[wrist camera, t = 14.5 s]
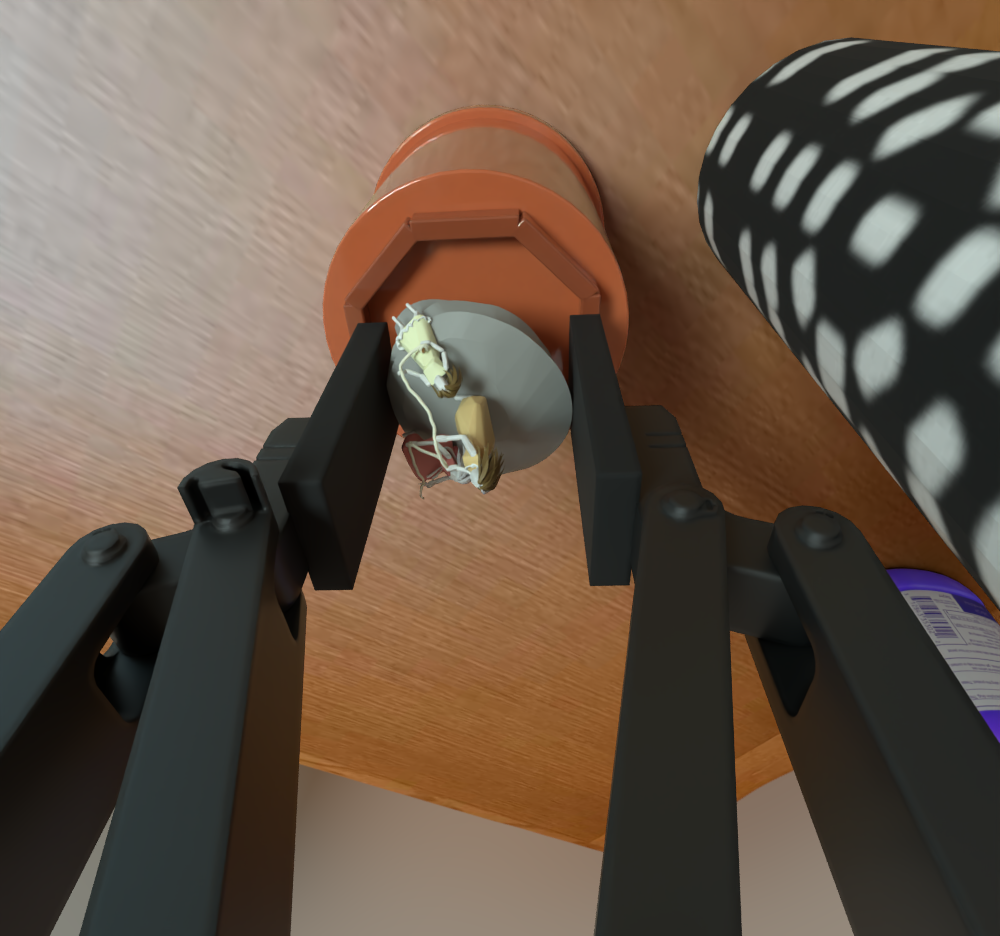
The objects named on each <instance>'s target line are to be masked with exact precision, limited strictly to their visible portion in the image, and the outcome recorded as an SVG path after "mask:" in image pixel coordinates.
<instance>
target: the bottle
mask: <svg viewBox="0 0 1000 936" xmlns="http://www.w3.org/2000/svg"><path fill="white" fill-rule="evenodd" d="M886 571H887V572H888V574H889V575H890V577H891V578H892V580H893V581H894V583H895V584H896V586H897V588H898V589H899V591H900V592H901V594H902V595H903V597H904V598H905V600H906V601H907V603H908V604H909V606H910V607H911V609H912V610H913V612H914V613H915V615H916V616H917V618H918V619H919V621H920V622H921V624H922V626H923V627H924V629H925V630H926V632H927V633H928V635H929V636H930V638H931V639H932V641H933V642H934V644H935V645H936V647H937V648H938V650H939V651H940V653H941V654H942V656H943V657H944V659H945V661H946V662H947V664H948V665H949V667H950V668H951V670H952V671H953V673H954V674H955V676H956V677H957V679H958V680H959V682H960V683H961V685H962V686H963V688H964V689H965V691H966V692H967V694H968V695H969V697H970V699H971V700H972V702H973V703H974V705H975V706H976V708H977V709H978V711H979V712H980V714H981V715H982V717H983V718H984V720H985V721H986V723H987V724H988V726H989V727H990V729H991V730H992V732H993V733H994V735H995V737H996V738H997V740H998V741H999V743H1000V626H999V624H998V623H997V622H996V621H995V619H994V618H993V617H992V615H991V614H990V613H989V611H988V610H987V609H986V608H985V606H984V604H983V602H982V601H981V600H980V599H979V598H978V597H977V596H976V595H975V594H974V593H973V592H972V591H970V590H969V589H968V588H966V587H965V586H964V585H962V584H961V583H959V582H957V581H955V580H953V579H951V578H949V577H947V576H944V575H941V574H937V573H934V572H930V571H924V570H917V569H907V568H902V569H887V570H886Z"/></svg>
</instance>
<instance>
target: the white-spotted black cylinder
mask: <svg viewBox="0 0 1000 936" xmlns="http://www.w3.org/2000/svg"><path fill="white" fill-rule="evenodd" d="M697 204H698V213H699V221H700V225H701V228H702V231H703V234H704V237H705V240H706V242H707V244H708V245H709V247H710V248H711V250H712V252H713V253H714V255H715V256H716V258H717V259H718V260H719V262H720V263H721V264H722V265H723V267H724V268H725V269H726V270H727V272H728V273H729V274H730V275H731V277H732V278H733V279H734V280H735V282H736V283H737V284H738V285H739V287H740V288H741V289H742V290H743V291H744V293H745V294H746V295H747V296H748V298H749V299H750V300H751V301H752V303H753V304H754V305H755V306H756V308H757V309H758V310H759V311H760V313H761V314H762V315H763V316H764V318H765V319H766V320H767V321H768V323H769V324H770V325H771V326H772V328H773V329H774V330H775V331H776V333H777V334H778V335H779V336H780V338H781V339H782V340H783V341H784V343H785V344H786V345H787V346H788V348H789V349H790V350H791V351H792V353H793V354H794V355H795V356H796V358H797V359H798V360H799V361H800V363H801V364H802V365H803V366H804V368H805V369H806V370H807V371H808V373H809V374H810V375H811V376H812V377H813V379H814V380H815V381H816V382H817V384H818V385H819V386H820V387H821V389H822V390H823V391H824V392H825V394H826V395H827V396H828V397H829V399H830V400H831V401H832V402H833V404H834V405H835V406H836V407H837V409H838V410H839V411H840V412H841V414H842V415H843V416H844V417H845V419H846V420H847V421H848V422H849V424H850V425H851V426H852V427H853V429H854V430H855V431H856V432H857V434H858V435H859V436H860V437H861V439H862V440H863V441H864V442H865V444H866V445H867V446H868V447H869V449H870V450H871V451H872V452H873V454H874V455H875V456H876V457H877V459H878V460H879V461H880V462H881V463H882V465H883V466H884V467H885V468H886V470H887V471H888V472H889V473H890V475H891V476H892V477H893V478H894V480H895V481H896V482H897V483H898V485H899V486H900V487H901V488H902V490H903V491H904V492H905V493H906V495H907V496H908V497H909V498H910V500H911V501H912V502H913V503H914V505H915V506H916V507H917V508H918V510H919V511H920V512H921V513H922V515H923V516H924V517H925V518H926V520H927V521H928V522H929V523H930V525H931V526H932V527H933V528H934V530H935V531H936V532H937V533H938V535H939V536H940V537H941V538H942V540H943V541H944V542H945V543H946V545H947V546H948V547H949V548H950V549H951V551H952V552H953V553H954V554H955V556H956V557H957V558H958V559H959V561H960V562H961V563H962V564H963V566H964V567H965V568H966V569H967V571H968V572H969V573H970V574H971V576H972V577H973V578H974V579H975V581H976V582H977V583H978V584H979V586H980V587H981V588H982V589H983V591H984V592H985V593H986V594H987V596H988V597H989V598H990V599H991V601H992V602H993V603H994V604H995V606H996V607H997V608H998V609H999V611H1000V51H989V50H978V49H968V48H957V47H946V46H936V45H925V44H914V43H904V42H893V41H882V40H871V39H861V38H844V39H836V40H829V41H824V42H821V43H818V44H815V45H812V46H809V47H806V48H804V49H801V50H798V51H796V52H795V53H793V54H791V55H790V56H788V57H786V58H784V59H783V60H781V61H779V62H777V63H776V64H774V65H773V66H771V67H770V68H769V69H768V70H766V71H765V72H764V73H763V74H762V75H760V76H759V77H758V78H757V79H755V80H754V81H753V82H752V83H751V84H750V85H749V86H748V87H747V88H746V89H745V90H744V92H743V93H742V94H741V95H740V96H739V97H738V98H737V99H736V101H735V102H734V103H733V104H732V105H731V107H730V108H729V110H728V111H727V113H726V114H725V116H724V117H723V119H722V121H721V122H720V124H719V125H718V127H717V128H716V130H715V133H714V135H713V137H712V139H711V142H710V144H709V146H708V148H707V151H706V153H705V156H704V160H703V164H702V168H701V172H700V176H699V183H698V196H697Z"/></svg>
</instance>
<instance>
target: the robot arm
mask: <svg viewBox="0 0 1000 936" xmlns="http://www.w3.org/2000/svg"><path fill="white" fill-rule="evenodd" d="M391 353H392V348H391V342H390V336H389V330H388V324H387V322H374V323H358V324H357V326H356V328H355V330H354V332H353V334H352V336H351V338H350V340H349V342H348V344H347V346H346V348H345V350H344V352H343V354H342V356H341V358H340V360H339V362H338V364H337V366H336V368H335V370H334V372H333V374H332V376H331V378H330V380H329V382H328V383H327V385H326V387H325V389H324V391H323V393H322V395H321V397H320V399H319V401H318V403H317V405H316V407H315V409H314V411H313V413H312V415H311V417H310V418H288V419H286V420H285V421H284V422H283V423H281V424H280V425H279V426H278V427H276V428H275V429H274V430H272V431H271V433H270V435H269V436H268V438H267V440H266V442H265V443H264V445H263V449H261V450H260V452H259V454H258V455H257V457H256V459H257V460H256V461H254V462H253V463H251V462H250V461H248V460H243V459H239V458H233V459H222V460H218V461H214V462H210V463H207V464H205V465H203V466H201V467H199V468H197V469H195V470H193V471H192V472H191V473H190V474H188V475H187V476H186V477H184V478H183V480H182V481H181V483H180V484H179V486H178V487H177V488H178V490H179V492H180V495H181V497H182V499H183V501H184V503H185V505H186V507H187V509H188V511H189V513H190V515H191V517H192V520H193V522H194V528H193V529H192V530H189V531H186V532H182V533H178V534H174V535H170V536H166V537H161V538H157V539H153V540H151V539H150V537H149V535H148V534H147V532H146V530H145V529H144V528H142V527H141V526H140V525H138V524H133V523H126V522H125V523H118V524H111V525H108V526H105V527H102V528H99V529H97V530H94V531H92V532H91V533H89V534H87V535H85V536H84V537H82V538H80V539H79V540H78V541H77V542H76V543H75V544H73V545H72V546H71V547H70V548H69V549H68V550H67V551H66V553H65V554H64V555H63V556H62V557H61V559H60V560H59V561H58V562H57V563H56V565H55V566H54V567H53V568H52V569H51V571H50V572H49V573H48V574H47V575H46V577H45V578H44V579H43V580H42V581H41V583H40V584H39V585H38V586H37V587H36V589H35V590H34V591H33V592H32V593H31V595H30V596H29V597H28V598H27V599H26V601H25V602H24V603H23V604H22V605H21V607H20V608H19V609H18V610H17V611H16V613H15V614H14V615H13V616H12V617H11V619H10V620H9V621H8V622H7V623H6V625H5V626H4V627H3V628H2V630H1V631H0V936H50V934H51V932H52V930H53V928H54V926H55V924H56V922H57V920H58V918H59V916H60V914H61V912H62V910H63V908H64V906H65V904H66V902H67V900H68V899H69V897H70V894H71V893H72V890H73V889H74V887H75V885H76V883H77V881H78V879H79V877H80V875H81V873H82V871H83V869H84V867H85V865H86V863H87V861H88V859H89V857H90V855H91V853H92V851H93V849H94V847H95V845H96V843H97V841H98V839H99V837H100V835H101V833H102V831H103V829H104V827H105V825H106V823H107V821H108V819H109V818H110V816H111V813H112V811H113V810H114V808H115V810H114V813H113V817H112V820H111V824H110V827H109V831H108V835H107V838H106V842H105V845H104V849H103V853H102V856H101V860H100V863H99V867H98V870H97V874H96V877H95V881H94V884H93V888H92V892H91V895H90V899H89V902H88V906H87V910H86V913H85V917H84V920H83V924H82V928H81V931H80V934H79V936H290V931H291V912H292V891H293V872H294V853H295V833H296V813H297V792H298V774H299V773H298V771H299V754H300V734H301V714H302V694H303V674H304V655H305V635H306V615H307V605H306V601H305V597H304V594H303V592H302V586H303V584H304V581H305V578H306V576H307V573H308V572H309V575H310V578H311V581H312V584H313V586H314V589H315V590H353V587H354V583H355V580H356V576H357V572H358V569H359V565H360V562H361V558H362V555H363V551H364V548H365V544H366V541H367V537H368V534H369V530H370V526H371V523H372V519H373V516H374V512H375V509H376V505H377V502H378V498H379V495H380V491H381V488H382V484H383V480H384V477H385V473H386V470H387V466H388V463H389V459H390V456H391V452H392V449H393V445H394V442H395V438H396V434H397V431H398V427H399V422H398V420H397V418H396V416H395V414H394V411H393V409H392V406H391V402H390V398H389V395H388V391H387V386H386V383H387V377H388V371H389V365H390V359H391ZM568 388H569V391H570V394H571V400H572V420H571V425H570V429H571V438H572V446H573V454H574V462H575V470H576V478H577V486H578V494H579V502H580V510H581V518H582V526H583V534H584V542H585V550H586V558H587V566H588V574H589V582H590V586H613V585H630V576H631V568H632V573H633V578H634V583H635V589H634V597H633V605H632V613H631V621H630V630H629V639H628V647H627V656H626V664H625V673H624V682H623V690H622V699H621V707H620V716H619V724H618V733H617V741H616V750H615V758H614V767H613V775H612V784H611V792H610V801H609V809H608V818H607V827H606V835H605V844H604V852H603V861H602V869H601V878H600V886H599V895H598V903H597V912H596V921H595V929H594V936H742V927H741V904H740V903H741V902H740V876H739V852H738V826H737V801H736V776H735V752H734V727H733V702H732V677H731V652H730V631H734V632H737V633H741V634H745V638H746V640H747V643H748V646H749V649H750V651H751V654H752V657H753V660H754V662H755V665H756V668H757V670H758V673H759V676H760V679H761V681H762V684H763V687H764V690H765V692H766V695H767V698H768V701H769V703H770V706H771V709H772V712H773V714H774V717H775V720H776V723H777V725H778V728H779V731H780V734H781V736H782V739H783V742H784V744H785V747H786V750H787V753H788V755H789V758H790V761H791V764H792V766H793V769H794V772H795V775H796V777H797V780H798V783H799V786H800V788H801V791H802V794H803V796H804V799H805V802H806V804H807V807H808V810H809V813H810V816H811V818H812V821H813V824H814V827H815V829H816V832H817V835H818V838H819V840H820V843H821V846H822V849H823V851H824V854H825V857H826V859H827V862H828V865H829V868H830V871H831V873H832V876H833V879H834V881H835V884H836V887H837V890H838V892H839V895H840V898H841V900H842V903H843V906H844V909H845V911H846V914H847V917H848V920H849V923H850V925H851V928H852V931H853V933H854V936H1000V743H999V741H998V740H997V738H996V737H995V735H994V733H993V732H992V730H991V729H990V727H989V726H988V724H987V723H986V721H985V720H984V718H983V717H982V715H981V714H980V712H979V711H978V709H977V708H976V706H975V705H974V703H973V702H972V700H971V699H970V697H969V695H968V694H967V692H966V691H965V689H964V688H963V686H962V685H961V683H960V682H959V680H958V679H957V677H956V676H955V674H954V673H953V671H952V670H951V668H950V667H949V665H948V664H947V662H946V661H945V659H944V657H943V656H942V654H941V653H940V651H939V650H938V648H937V647H936V645H935V644H934V642H933V641H932V639H931V638H930V636H929V635H928V633H927V632H926V630H925V629H924V627H923V626H922V624H921V622H920V621H919V619H918V618H917V616H916V615H915V613H914V612H913V610H912V609H911V607H910V606H909V604H908V603H907V601H906V600H905V598H904V597H903V595H902V594H901V592H900V591H899V589H898V588H897V586H896V584H895V583H894V581H893V580H892V578H891V577H890V575H889V574H888V572H887V571H886V569H885V568H884V566H883V565H882V563H881V562H880V560H879V559H878V557H877V556H876V554H875V553H874V551H873V550H872V548H871V546H870V545H869V543H868V542H867V540H866V539H865V537H864V536H863V534H862V533H861V531H860V530H859V529H858V528H857V527H856V526H855V525H854V524H853V523H852V522H851V521H850V520H848V519H846V518H845V517H843V516H841V515H840V514H838V513H836V512H833V511H830V510H827V509H824V508H821V507H814V506H797V507H791V508H788V509H786V510H784V511H783V512H781V513H779V515H778V517H777V519H776V521H775V523H774V524H773V523H768V522H763V521H758V520H753V519H748V518H744V517H741V516H737V515H734V514H732V513H729V512H727V511H725V510H724V508H723V505H722V502H721V501H720V500H719V499H718V498H717V497H716V496H715V495H714V494H713V493H711V492H710V491H708V490H706V489H704V488H703V487H702V485H701V482H700V479H699V477H698V474H697V472H696V469H695V466H694V464H693V461H692V459H691V456H690V453H689V451H688V448H687V447H686V443H685V440H684V438H683V435H681V430H680V427H679V425H678V422H677V420H676V417H674V416H673V415H672V414H671V413H670V412H669V411H667V410H666V409H665V408H664V407H663V406H662V405H651V406H624V403H623V399H622V395H621V392H620V388H619V384H618V380H617V377H616V373H615V369H614V365H613V362H612V358H611V354H610V350H609V347H608V343H607V339H606V335H605V331H604V328H603V324H602V320H601V316H600V314H584V315H570V322H569V371H568ZM109 637H111V639H112V640H113V643H112V645H111V646H110V648H109V649H108V650H107V651H106V652H105V653H104V655H102V654H101V653H100V651H101V649H102V648H103V646H104V645H105V643H106V642H107V640H108V638H109Z"/></svg>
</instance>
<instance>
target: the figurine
mask: <svg viewBox="0 0 1000 936" xmlns="http://www.w3.org/2000/svg"><path fill="white" fill-rule="evenodd" d="M406 306H407V308H405V309H404V310H403V311H402V312H401V313H400V315H399V316H398V317H397V318H396V317H394V316H393V317H392V319H393V320H394V321H395V322H396V324H395V330H396V333H397V337H396V342H395V344H394V346H393V349H392V353H391V359H390V365H389V371H388V377H387V383H386V386H387V391H388V395H389V398H390V402H391V406H392V409H393V411H394V414H395V416H396V418H397V420H398V422H399V424H400V426H401V427H402V429H403V430H404V432H405V433H404V434H402V436H403V437H404V438H405V440H404V442H403V445H402V451H403V453H404V455H405V457H406V459H407V462H408V464H409V466H410V467H411V469H412V471H413V473H414V474H415V476H416V477H417V478H418V479H419V480H421V481H423V482H422V483H420V484H422V485H421V487H420V497H421V498H422V499H424V497H422V489H423V486H426V487H427V488H430V487H432V486H434V485H435V484H438V483H440V482H443V481H446V480H449V479H450V480H454V481H456V482H458V483H461V484H467V483H469V482H472V483H473V485H475V486H476V487H477V488H478V489H479V490H481V492H482V493H483V494H486V493H488V492H489V491H490V490H493V489H494V488H495V487H496V485H497V483H498V481H499V479H500V476H501V474H505V473H510V472H514V471H518V470H522V469H526V468H529V467H531V466H534V465H536V464H538V463H539V462H541V461H543V460H544V459H546V458H547V457H548V456H549V455H550V454H552V453H553V452H554V451H555V450H556V449H557V448H558V447H559V446H560V444H561V443H562V442H563V440H564V439H565V437H566V435H567V433H568V431H569V428H570V425H571V420H572V400H571V394H570V391H569V388H568V385H567V383H566V380H565V378H564V376H563V374H562V373H561V371H560V369H559V368H558V366H557V365H556V363H555V362H554V361H553V359H552V357H551V354H550V352H549V350H548V349H547V348H546V347H545V345H544V344H543V343H542V341H541V340H540V339H539V338H538V336H537V335H536V334H535V333H534V331H533V330H532V329H531V328H530V327H529V326H528V325H527V324H526V323H525V322H524V321H523V320H521V319H520V318H519V317H517V316H516V315H514V314H513V313H511V312H509V311H507V310H505V309H503V308H501V307H498V306H494V305H489V304H483V303H476V302H469V301H457V300H452V301H448V300H439V299H429V300H422V301H418V302H416V303H413V304H411V305H410V304H409V303H406ZM442 472H445V473H446V474H447V475H448V476H445V477H441V478H438V479H436V480H432V481H430V482H428V483H425V481H426V480H427V479H435V478H436V477H437V476H438V475H439V474H440V473H442ZM496 478H497V479H496ZM424 484H425V485H424ZM492 485H493V486H492Z"/></svg>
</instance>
